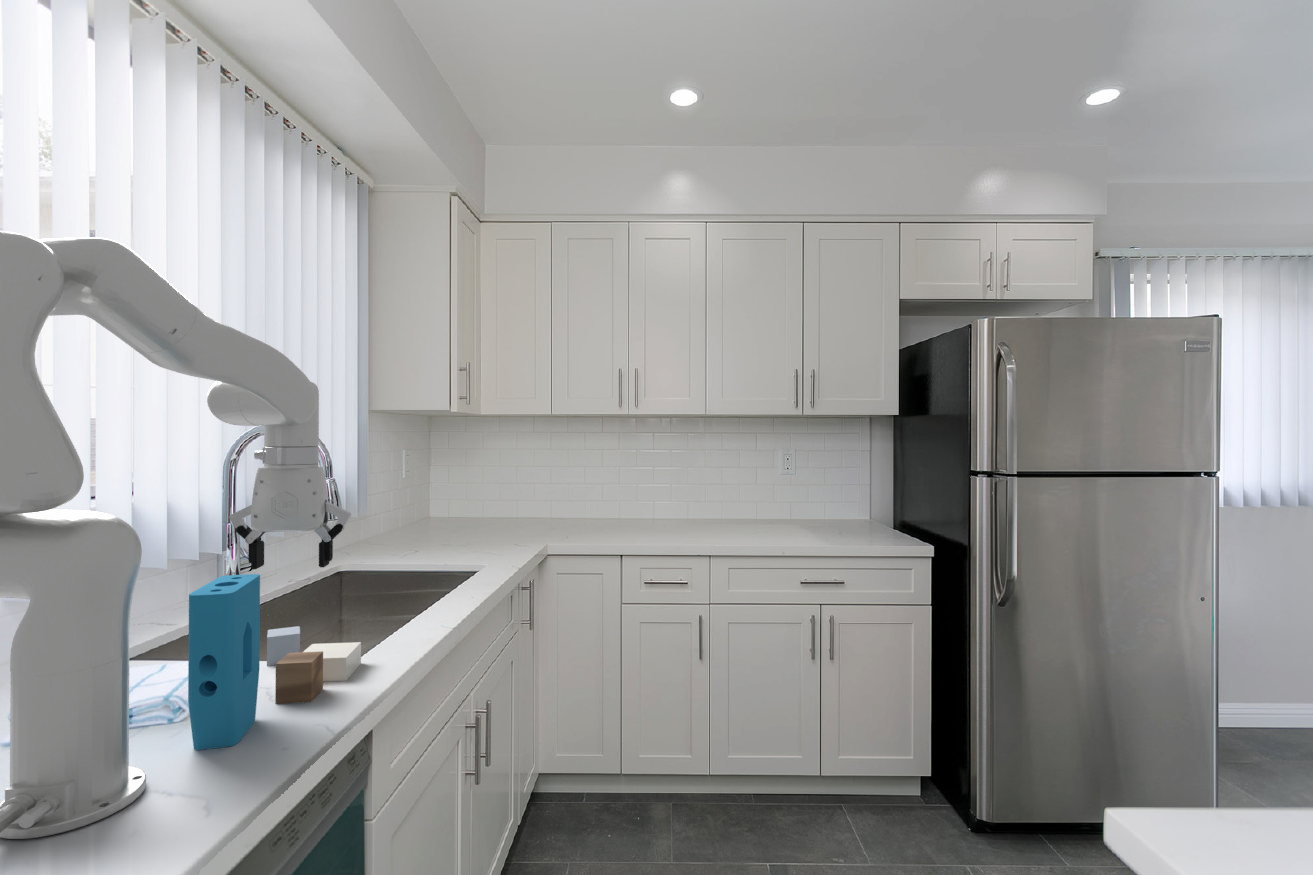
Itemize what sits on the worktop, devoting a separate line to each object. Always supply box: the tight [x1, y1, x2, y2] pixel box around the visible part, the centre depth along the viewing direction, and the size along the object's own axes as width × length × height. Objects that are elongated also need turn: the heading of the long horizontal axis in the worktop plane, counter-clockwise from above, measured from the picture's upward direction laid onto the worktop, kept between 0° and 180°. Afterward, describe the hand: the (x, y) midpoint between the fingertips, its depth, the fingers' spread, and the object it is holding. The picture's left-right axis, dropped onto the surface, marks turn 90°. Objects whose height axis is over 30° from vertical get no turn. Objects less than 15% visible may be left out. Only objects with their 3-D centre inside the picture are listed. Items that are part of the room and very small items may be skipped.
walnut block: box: [274, 651, 324, 705], centre depth 100 cm, size 5×5×6 cm
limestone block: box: [302, 641, 362, 682], centre depth 110 cm, size 8×8×4 cm
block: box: [187, 573, 261, 751], centre depth 87 cm, size 12×5×20 cm, turn 16°
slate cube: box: [266, 625, 301, 667], centre depth 116 cm, size 5×5×5 cm
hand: (291, 566), depth 103 cm, fingers open, 9 cm apart
